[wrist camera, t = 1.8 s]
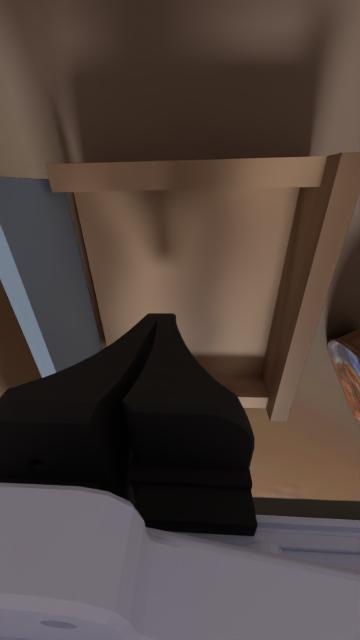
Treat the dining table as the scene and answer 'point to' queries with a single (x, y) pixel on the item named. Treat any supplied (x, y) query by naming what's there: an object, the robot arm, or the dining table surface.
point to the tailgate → (45, 274)
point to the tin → (348, 367)
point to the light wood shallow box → (219, 256)
